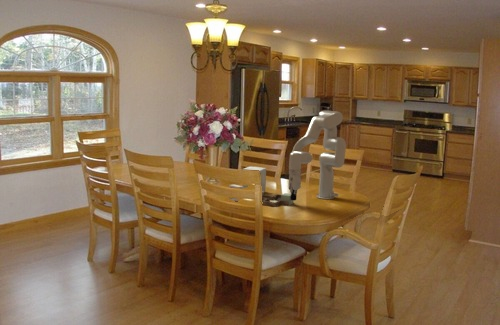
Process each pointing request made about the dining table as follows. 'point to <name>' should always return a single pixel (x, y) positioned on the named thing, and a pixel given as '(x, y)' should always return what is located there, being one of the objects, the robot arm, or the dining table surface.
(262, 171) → the supplement box
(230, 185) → the ink box
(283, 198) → the block
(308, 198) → the dining table surface
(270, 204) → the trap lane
